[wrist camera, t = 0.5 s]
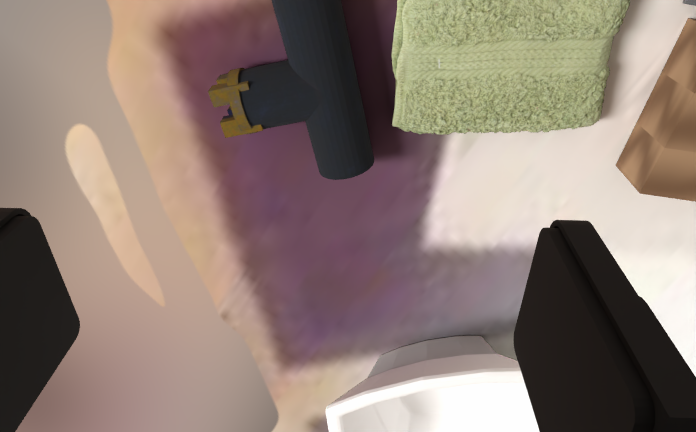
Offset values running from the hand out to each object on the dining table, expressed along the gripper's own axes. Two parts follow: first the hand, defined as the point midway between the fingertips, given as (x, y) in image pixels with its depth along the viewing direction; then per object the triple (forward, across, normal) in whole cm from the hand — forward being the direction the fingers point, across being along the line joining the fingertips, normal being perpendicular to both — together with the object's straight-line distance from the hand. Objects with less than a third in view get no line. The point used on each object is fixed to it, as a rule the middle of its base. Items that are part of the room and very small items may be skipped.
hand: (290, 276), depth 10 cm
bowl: (+35, -12, +46) cm, 59 cm away
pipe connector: (+35, +5, +8) cm, 36 cm away
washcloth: (+35, -12, +5) cm, 38 cm away
